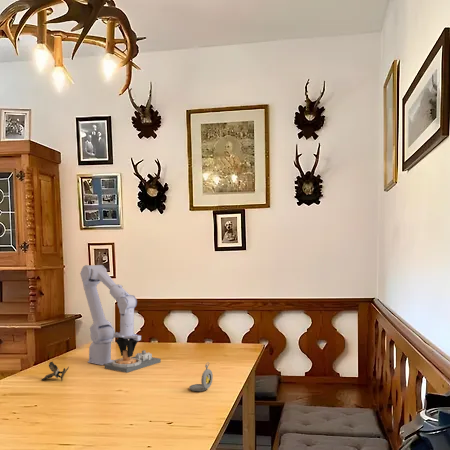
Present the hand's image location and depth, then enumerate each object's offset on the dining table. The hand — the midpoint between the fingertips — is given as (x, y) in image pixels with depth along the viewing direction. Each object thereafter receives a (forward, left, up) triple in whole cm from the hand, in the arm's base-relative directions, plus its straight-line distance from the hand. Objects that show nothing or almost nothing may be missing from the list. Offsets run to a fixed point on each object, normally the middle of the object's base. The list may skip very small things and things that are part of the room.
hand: (126, 355), depth 197 cm
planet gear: (0, 0, -3) cm, 3 cm away
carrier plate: (0, +4, -5) cm, 6 cm away
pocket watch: (+46, -9, -5) cm, 47 cm away
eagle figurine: (-10, -29, -5) cm, 31 cm away
